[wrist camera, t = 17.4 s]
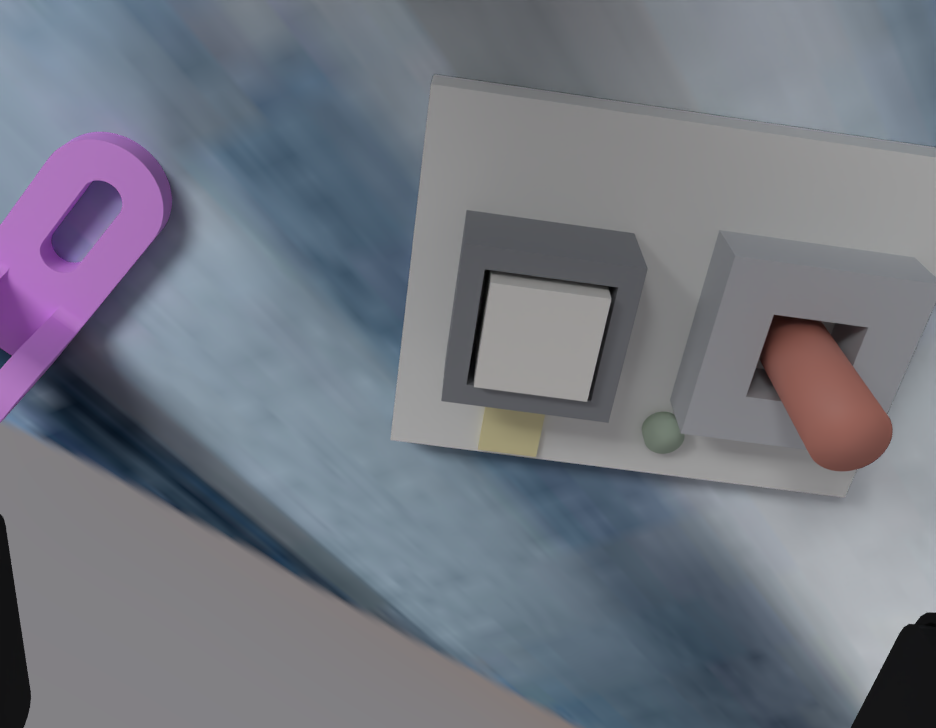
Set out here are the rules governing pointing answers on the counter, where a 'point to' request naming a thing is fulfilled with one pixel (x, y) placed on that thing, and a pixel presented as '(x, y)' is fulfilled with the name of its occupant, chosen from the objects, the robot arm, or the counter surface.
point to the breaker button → (539, 335)
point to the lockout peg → (824, 395)
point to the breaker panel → (659, 275)
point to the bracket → (61, 282)
